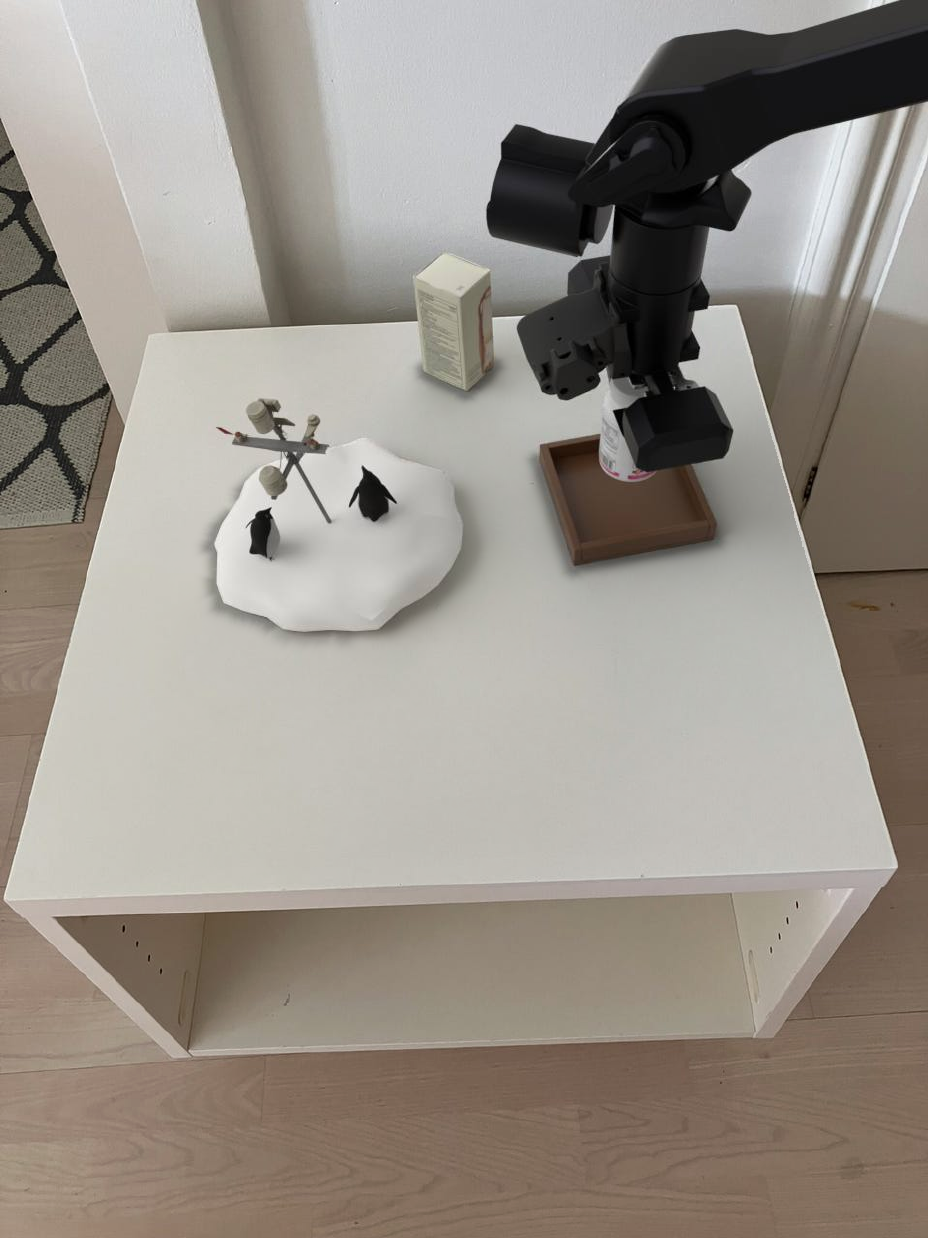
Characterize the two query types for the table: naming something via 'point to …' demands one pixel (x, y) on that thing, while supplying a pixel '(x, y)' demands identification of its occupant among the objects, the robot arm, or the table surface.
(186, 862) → the table surface
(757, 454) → the table surface
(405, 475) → the figurine
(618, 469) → the pill bottle
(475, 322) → the medicine box
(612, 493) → the tray
